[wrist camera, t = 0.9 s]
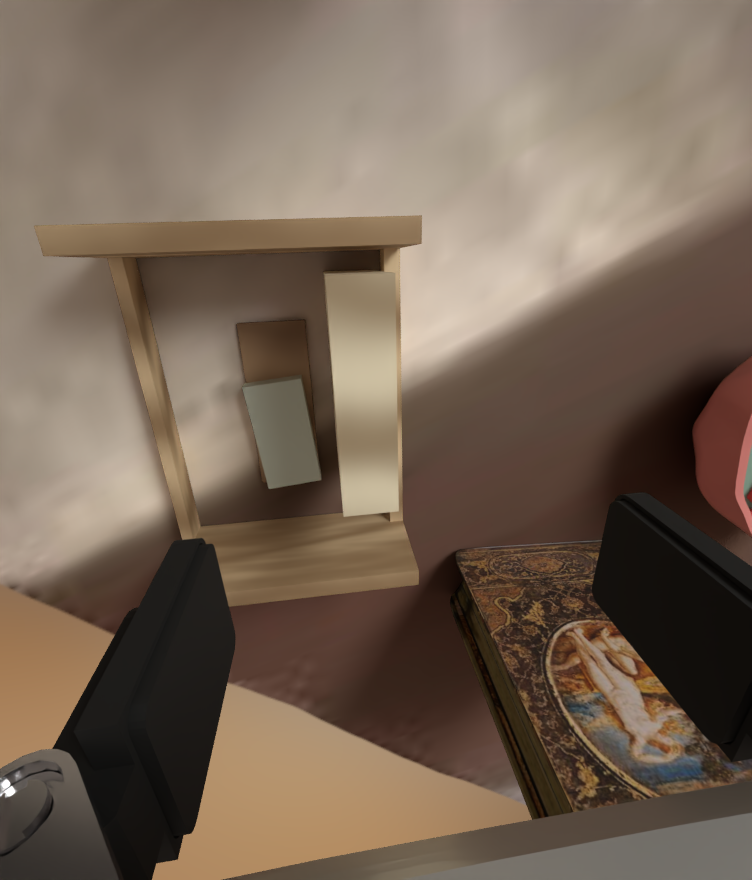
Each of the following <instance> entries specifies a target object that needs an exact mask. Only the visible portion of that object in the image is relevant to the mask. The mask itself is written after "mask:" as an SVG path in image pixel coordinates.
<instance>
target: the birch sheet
mask: <svg viewBox="0 0 752 880" xmlns="http://www.w3.org/2000/svg"><path fill="white" fill-rule="evenodd" d="M323 276H324V289H325V302H326V314H327V327H328V340H329V353H330V365H331V378H332V391H333V404H334V416H335V429H336V441H337V452H338V463H339V474H340V484H341V495H342V506H343V517H346V516H357V515H367V514H377V513H387V512H397V511H399V490H398V421H397V353H396V284H395V273H392V272H383V271H375V270H349V271H323Z"/></svg>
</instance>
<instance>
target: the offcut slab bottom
mask: <svg viewBox="0 0 752 880" xmlns="http://www.w3.org/2000/svg"><path fill="white" fill-rule="evenodd" d="M236 325H237V331H238V337H239V343H240V350H241V356H242V362H243V368H244V374H245V380H246V383H250V382H256V381H263V380H269V379H276V378H282V377H289V376H295V375H302V380H303V385H304V390H305V395H306V400H307V405H308V410H309V415H310V420H311V425H312V430H313V435H314V440H315V445H316V450H317V455H318V448H317V438H316V428H315V418H314V408H313V399H312V389H311V379H310V369H309V359H308V349H307V339H306V330H305V320H288V321H269V322H250V323H237V324H236ZM255 441H256V439H255ZM256 447H257V453H258V459H259V465H260V471H261V477H262V482H267V480H266V476H265V473H264V469H263V465H262V461H261V457H260V454H259V450H258V446H257V442H256ZM318 459H319V458H318Z"/></svg>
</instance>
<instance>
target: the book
mask: <svg viewBox="0 0 752 880" xmlns="http://www.w3.org/2000/svg"><path fill="white" fill-rule="evenodd" d="M601 542H602V540H594V541H577V542H561V543H545V544H528V545H512V546H496V547H483V548H473V549H462V550H459V551H457V553H456V558H455V560H456V564H457V567H458V570H459V572H460V574H461V576H462V579H463V581H462V583H461V585H460V587H459V588H458V590H457V591H456V592H455V593H454V594H453V595H452V596H451V600H450V605H451V608H452V613H453V616H454V618H455V621H456V624H457V626H458V629H459V631H460V634H461V637H462V639H463V642H464V644H465V647H466V650H467V652H468V655H469V657H470V660H471V662H472V665H473V668H474V670H475V673H476V675H477V678H478V681H479V683H480V686H481V688H482V691H483V693H484V696H485V699H486V701H487V704H488V706H489V709H490V712H491V714H492V717H493V719H494V722H495V725H496V727H497V730H498V732H499V735H500V737H501V740H502V743H503V745H504V748H505V750H506V753H507V756H508V758H509V761H510V763H511V766H512V768H513V771H514V774H515V776H516V779H517V781H518V784H519V787H520V789H521V792H522V794H523V797H524V799H525V802H526V805H527V807H528V810H529V812H530V815H531V817H532V820H534V819H539V818H545V817H550V816H556V815H561V814H567V813H572V812H578V811H584V810H589V809H595V808H600V807H606V806H611V805H617V804H622V803H628V802H634V801H639V800H645V799H650V798H656V797H661V796H667V795H673V794H678V793H684V792H690V791H696V790H701V789H707V788H713V787H718V786H724V785H730V784H736V783H741V782H747V781H752V759H748V760H742V761H737V762H731V761H730V760H729V758H728V757H727V756H726V755H725V753H724V752H723V751H722V750H721V749H720V747H719V746H718V745H717V744H715V743H712V742H711V741H709V740H708V739H707V738H706V737H705V736H704V735H703V734H702V733H701V731H700V730H699V729H698V728H697V726H696V725H695V724H694V723H693V722H692V720H691V719H690V718H689V717H688V715H687V714H686V713H685V712H684V710H683V709H682V708H681V707H680V705H679V704H678V703H677V702H676V701H675V699H674V698H673V697H672V696H671V694H670V693H669V692H668V691H667V689H666V688H665V687H664V686H663V684H662V683H661V682H660V681H659V680H658V678H657V677H656V676H655V675H654V673H653V672H652V671H651V670H650V668H649V667H648V666H647V665H646V664H645V662H644V661H643V660H642V659H641V657H640V656H639V655H638V654H637V652H636V651H635V650H634V649H633V647H632V646H631V645H630V644H629V643H628V641H627V640H626V639H625V638H624V636H623V635H622V634H621V633H620V631H619V630H618V629H617V628H616V626H615V625H614V624H613V623H612V622H611V620H610V619H609V618H608V617H607V615H606V614H605V613H604V612H603V610H602V609H601V608H600V607H599V605H598V604H597V603H596V601H595V600H594V597H593V594H592V583H593V579H594V574H595V570H596V565H597V561H598V556H599V552H600V547H601Z"/></svg>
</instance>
